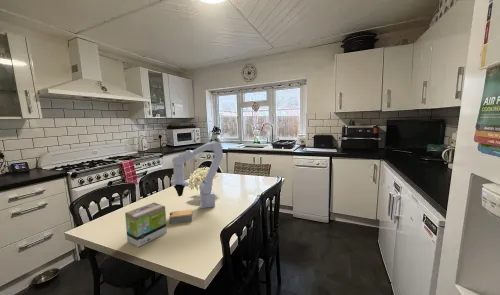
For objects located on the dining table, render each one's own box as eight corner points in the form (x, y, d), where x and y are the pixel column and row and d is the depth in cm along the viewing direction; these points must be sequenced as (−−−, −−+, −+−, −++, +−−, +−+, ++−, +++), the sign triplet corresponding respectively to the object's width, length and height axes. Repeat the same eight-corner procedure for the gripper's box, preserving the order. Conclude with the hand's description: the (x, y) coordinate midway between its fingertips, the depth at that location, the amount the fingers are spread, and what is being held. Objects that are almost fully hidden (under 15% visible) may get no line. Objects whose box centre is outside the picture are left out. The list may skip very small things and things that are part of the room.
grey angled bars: (192, 215, 122) (192, 210, 122) (192, 220, 116) (191, 215, 116) (171, 218, 119) (171, 213, 119) (170, 223, 113) (169, 218, 113)
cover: (192, 210, 122) (192, 208, 122) (191, 215, 115) (191, 213, 115) (170, 213, 119) (170, 210, 119) (168, 218, 112) (168, 215, 112)
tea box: (138, 248, 91) (135, 217, 90) (127, 241, 97) (123, 212, 95) (167, 232, 104) (165, 205, 102) (156, 227, 109) (153, 201, 107)
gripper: (165, 175, 127) (167, 195, 129) (181, 177, 120) (183, 199, 121) (174, 172, 133) (176, 192, 135) (190, 175, 126) (192, 195, 128)
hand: (180, 195), depth 129 cm, fingers closed
